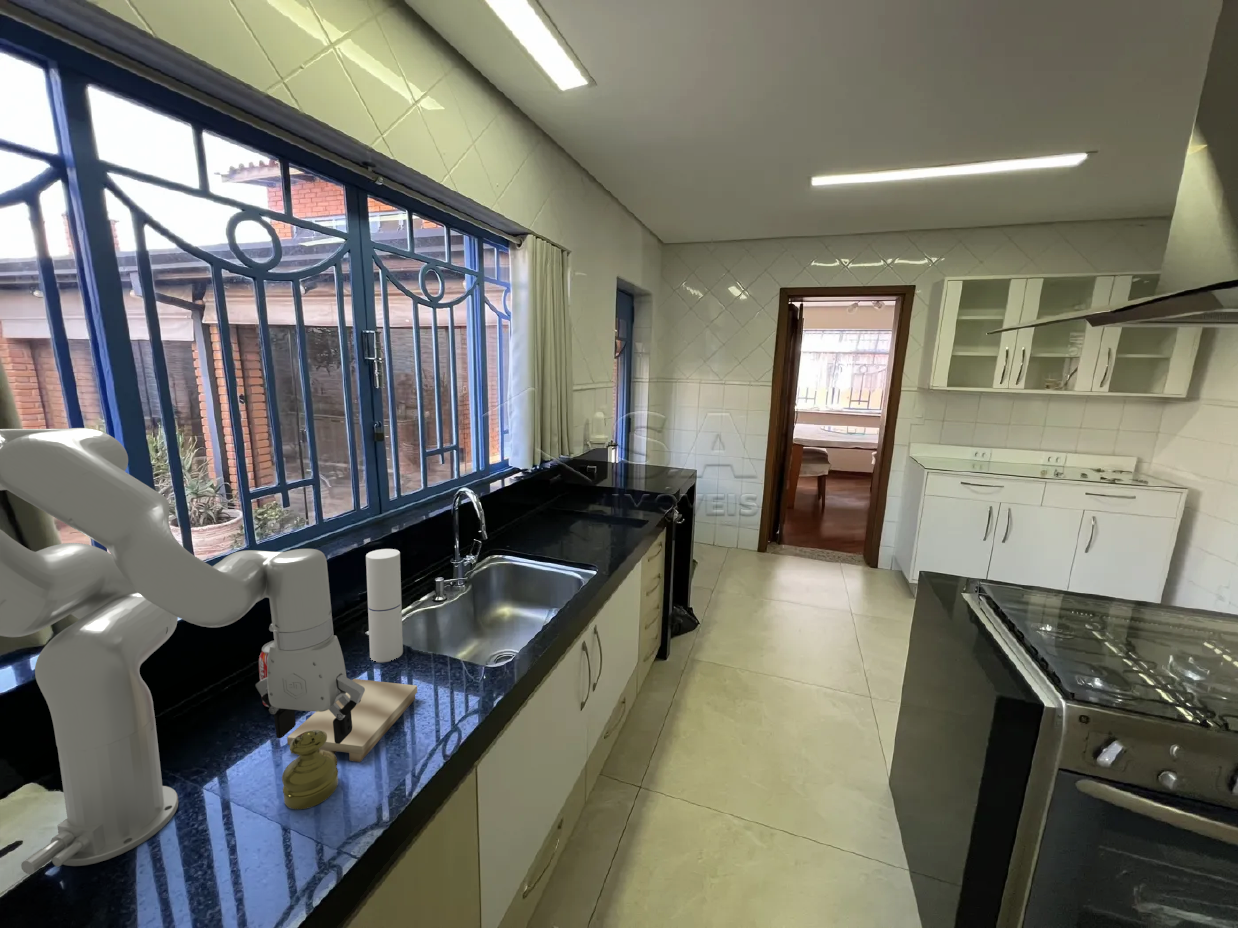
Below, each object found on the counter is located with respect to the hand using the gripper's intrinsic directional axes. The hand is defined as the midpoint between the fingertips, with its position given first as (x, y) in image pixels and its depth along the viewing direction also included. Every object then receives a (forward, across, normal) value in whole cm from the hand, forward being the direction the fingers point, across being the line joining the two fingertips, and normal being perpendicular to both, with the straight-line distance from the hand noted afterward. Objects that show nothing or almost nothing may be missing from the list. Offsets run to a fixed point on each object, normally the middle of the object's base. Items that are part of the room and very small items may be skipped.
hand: (314, 734), depth 78 cm
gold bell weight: (+10, -1, 0) cm, 10 cm away
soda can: (+10, -23, +20) cm, 32 cm away
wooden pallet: (+10, -4, +16) cm, 19 cm away
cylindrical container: (+10, -13, +40) cm, 43 cm away
